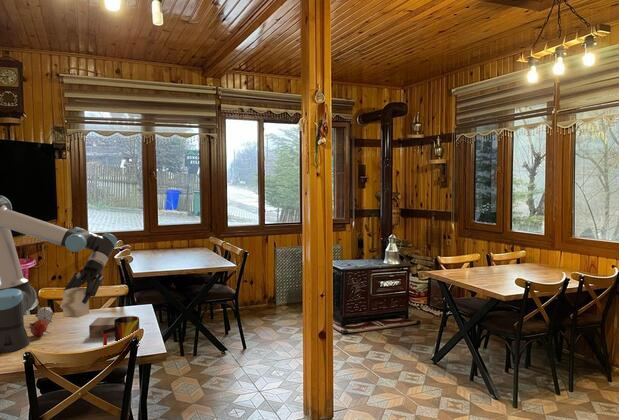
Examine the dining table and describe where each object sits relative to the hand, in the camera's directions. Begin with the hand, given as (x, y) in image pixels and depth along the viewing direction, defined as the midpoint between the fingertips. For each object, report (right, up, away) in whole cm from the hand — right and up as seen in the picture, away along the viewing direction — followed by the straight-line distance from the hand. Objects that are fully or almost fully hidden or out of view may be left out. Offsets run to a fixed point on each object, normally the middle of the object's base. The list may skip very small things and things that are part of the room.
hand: (70, 308), depth 194 cm
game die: (-30, -14, +35) cm, 48 cm away
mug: (+24, -16, -2) cm, 29 cm away
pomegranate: (-21, -16, +15) cm, 31 cm away
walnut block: (+8, -15, +18) cm, 25 cm away
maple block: (+1, -3, +4) cm, 5 cm away
